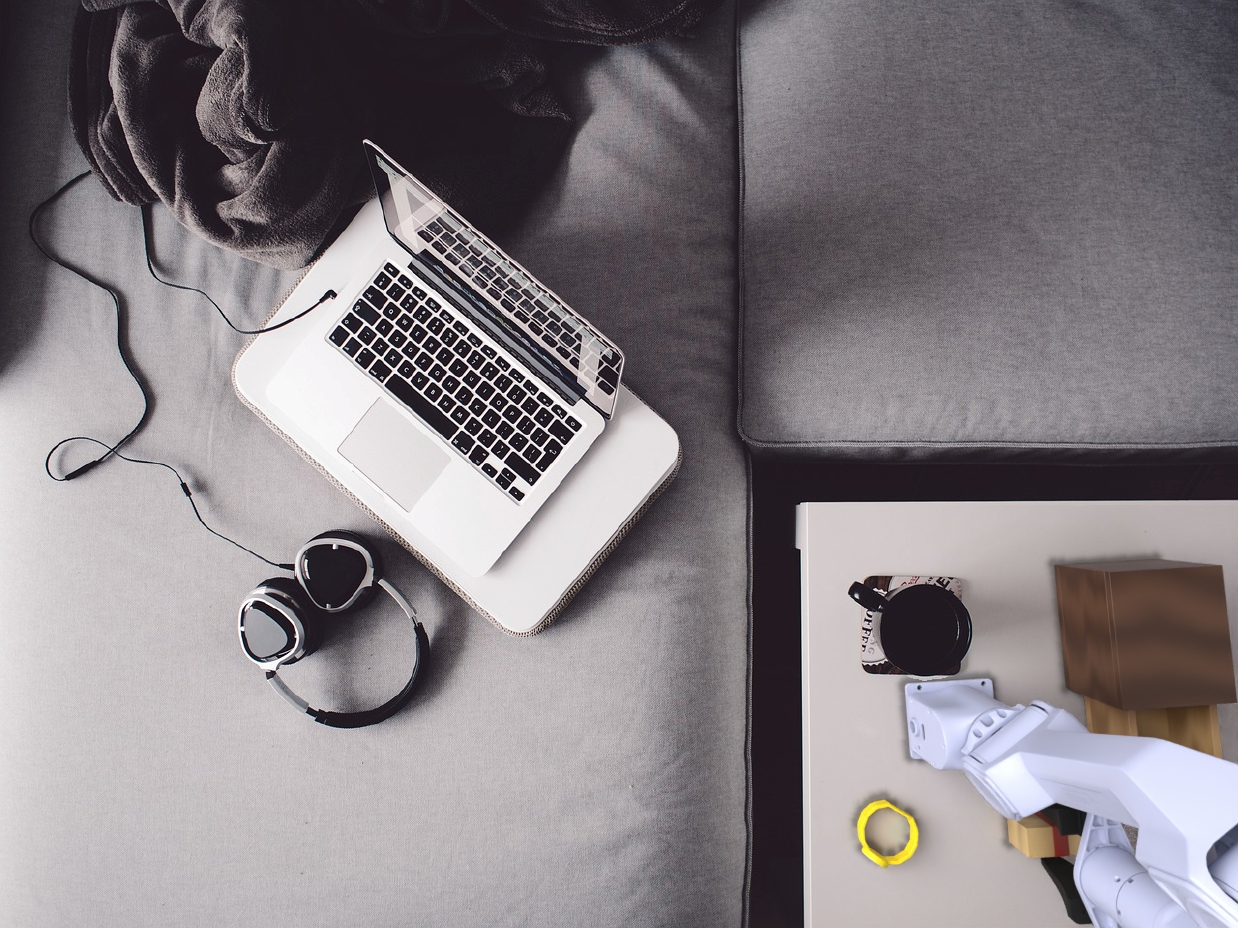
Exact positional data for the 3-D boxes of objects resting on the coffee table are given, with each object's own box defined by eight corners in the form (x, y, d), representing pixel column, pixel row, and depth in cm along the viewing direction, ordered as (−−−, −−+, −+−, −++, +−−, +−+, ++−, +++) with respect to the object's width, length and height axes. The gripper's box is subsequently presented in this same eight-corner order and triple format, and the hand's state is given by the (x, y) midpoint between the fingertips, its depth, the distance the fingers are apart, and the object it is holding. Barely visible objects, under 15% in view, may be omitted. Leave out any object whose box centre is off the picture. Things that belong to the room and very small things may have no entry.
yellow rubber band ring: (871, 787, 75) (843, 836, 74) (881, 795, 72) (851, 846, 71) (919, 821, 74) (891, 870, 73) (931, 830, 72) (902, 881, 71)
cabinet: (1167, 681, 76) (1237, 703, 67) (1065, 688, 75) (1123, 710, 67) (1155, 558, 76) (1222, 565, 68) (1053, 564, 76) (1109, 572, 68)
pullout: (1181, 801, 74) (1238, 831, 67) (1087, 808, 74) (1135, 838, 67) (1164, 644, 75) (1219, 657, 68) (1072, 650, 75) (1118, 664, 68)
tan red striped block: (1008, 842, 74) (1029, 859, 71) (1005, 812, 74) (1026, 828, 71) (1072, 837, 74) (1096, 854, 71) (1069, 808, 75) (1093, 823, 71)
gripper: (1203, 989, 59) (1091, 899, 73) (1184, 815, 60) (1078, 758, 73) (1122, 995, 59) (1025, 904, 72) (1105, 821, 60) (1012, 763, 73)
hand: (1047, 831), depth 73 cm, fingers open, 5 cm apart
